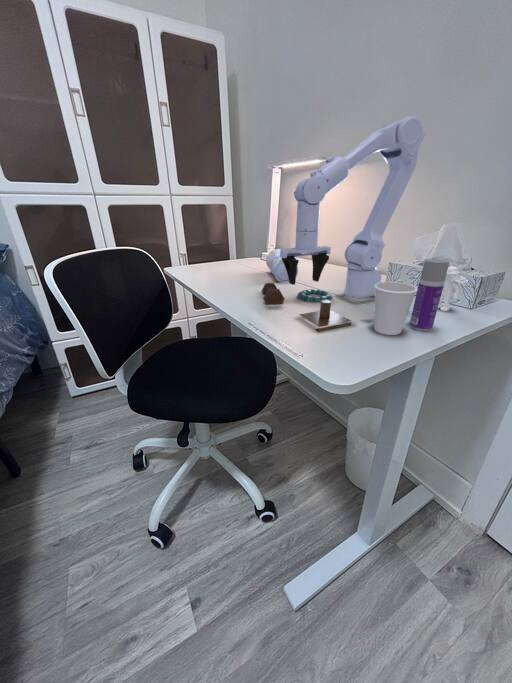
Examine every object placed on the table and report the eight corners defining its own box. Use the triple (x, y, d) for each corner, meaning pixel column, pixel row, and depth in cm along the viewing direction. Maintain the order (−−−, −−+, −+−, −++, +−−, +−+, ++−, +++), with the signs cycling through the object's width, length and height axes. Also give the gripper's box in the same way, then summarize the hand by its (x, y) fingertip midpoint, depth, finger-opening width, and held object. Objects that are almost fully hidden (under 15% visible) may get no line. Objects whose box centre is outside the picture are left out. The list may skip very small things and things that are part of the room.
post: (328, 313, 76) (330, 294, 73) (351, 325, 68) (354, 304, 66) (298, 318, 73) (299, 298, 70) (318, 331, 65) (320, 309, 63)
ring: (318, 294, 91) (319, 287, 90) (338, 303, 83) (339, 295, 82) (290, 298, 88) (291, 290, 87) (308, 308, 79) (309, 300, 78)
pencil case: (298, 283, 104) (299, 256, 100) (274, 284, 103) (274, 257, 99) (285, 271, 123) (286, 247, 119) (265, 271, 122) (265, 248, 118)
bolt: (270, 298, 94) (276, 312, 80) (257, 291, 93) (261, 304, 79) (279, 282, 92) (287, 294, 78) (266, 275, 91) (271, 285, 77)
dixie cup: (384, 320, 71) (392, 279, 66) (416, 332, 64) (426, 288, 60) (359, 327, 67) (366, 284, 63) (389, 340, 60) (399, 294, 56)
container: (431, 332, 64) (450, 263, 57) (407, 328, 66) (423, 261, 59) (432, 325, 67) (450, 259, 61) (410, 322, 69) (425, 257, 63)
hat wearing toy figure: (461, 312, 75) (476, 265, 70) (450, 314, 74) (464, 266, 69) (431, 302, 83) (442, 259, 77) (421, 304, 81) (431, 260, 76)
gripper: (321, 228, 81) (317, 276, 87) (275, 230, 76) (274, 281, 82) (337, 230, 75) (332, 281, 81) (288, 232, 70) (286, 287, 76)
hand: (304, 282), depth 81 cm, fingers open, 7 cm apart
